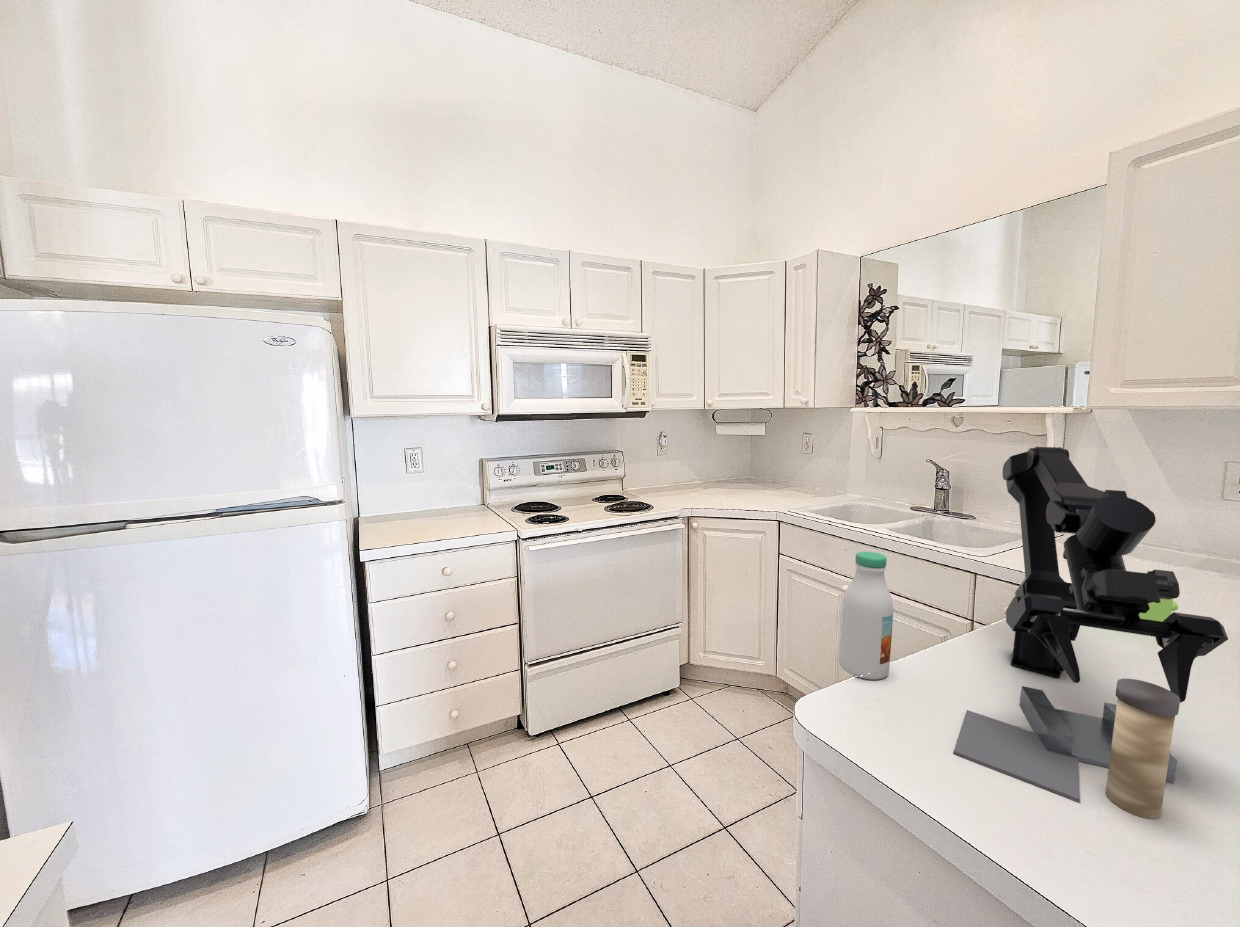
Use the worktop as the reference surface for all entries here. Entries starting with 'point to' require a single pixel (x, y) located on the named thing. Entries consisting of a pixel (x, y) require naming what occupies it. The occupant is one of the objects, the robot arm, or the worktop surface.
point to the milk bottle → (867, 620)
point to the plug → (1141, 747)
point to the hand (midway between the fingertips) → (1127, 691)
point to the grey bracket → (1074, 730)
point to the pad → (1017, 754)
